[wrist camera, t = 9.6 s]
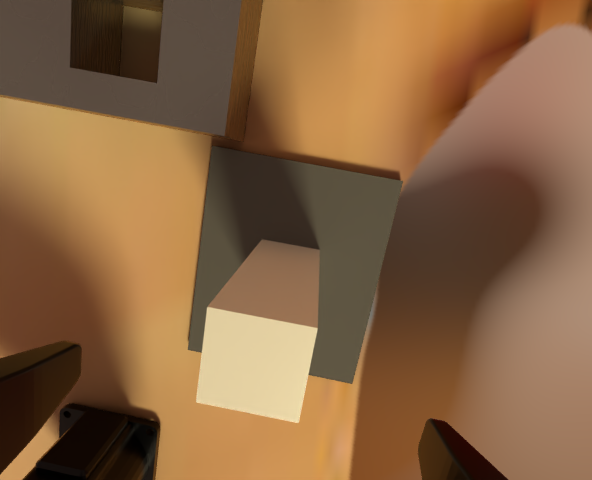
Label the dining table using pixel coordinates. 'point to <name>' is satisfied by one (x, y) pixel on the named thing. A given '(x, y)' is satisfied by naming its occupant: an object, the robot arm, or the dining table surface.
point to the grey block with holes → (106, 61)
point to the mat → (299, 241)
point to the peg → (262, 333)
